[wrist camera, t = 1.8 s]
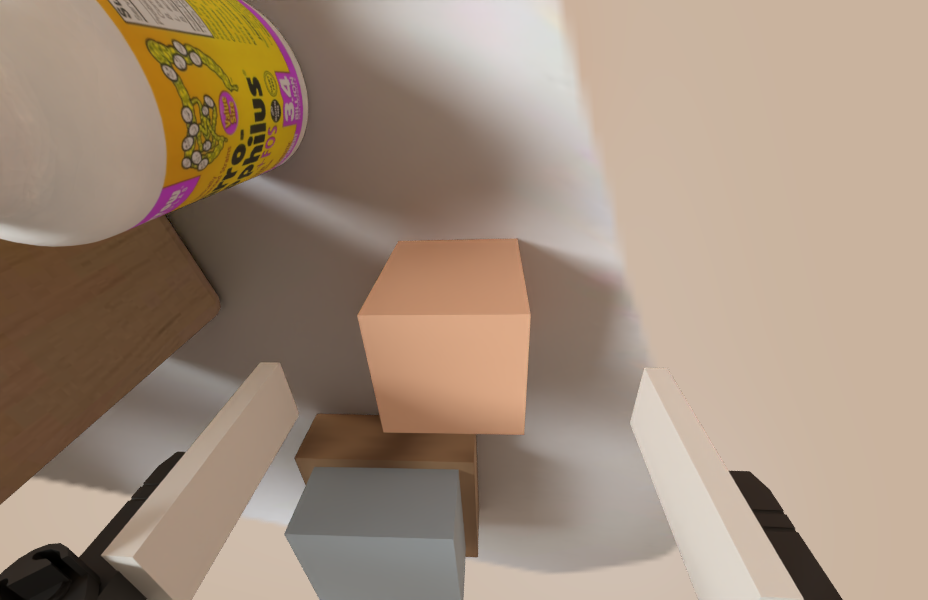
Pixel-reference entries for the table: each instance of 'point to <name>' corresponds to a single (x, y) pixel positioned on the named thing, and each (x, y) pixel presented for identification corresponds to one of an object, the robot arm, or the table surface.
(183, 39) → the supplement bottle
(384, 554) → the block
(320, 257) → the table surface
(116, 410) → the table surface
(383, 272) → the stack block
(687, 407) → the robot arm
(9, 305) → the block
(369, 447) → the tower base
